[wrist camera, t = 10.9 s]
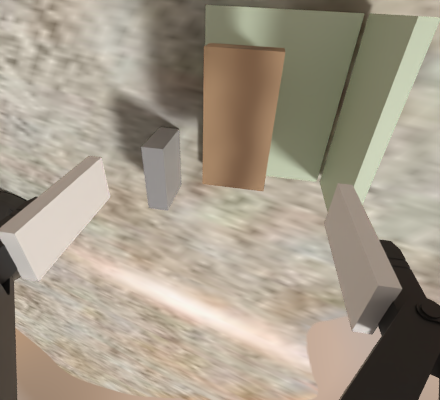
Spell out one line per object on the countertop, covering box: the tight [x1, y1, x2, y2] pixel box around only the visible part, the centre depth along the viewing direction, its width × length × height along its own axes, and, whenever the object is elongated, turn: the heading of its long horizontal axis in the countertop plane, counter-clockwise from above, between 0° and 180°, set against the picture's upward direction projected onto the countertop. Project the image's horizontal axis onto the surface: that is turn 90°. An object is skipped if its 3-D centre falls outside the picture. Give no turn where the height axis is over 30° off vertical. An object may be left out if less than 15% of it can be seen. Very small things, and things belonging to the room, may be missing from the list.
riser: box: [141, 127, 181, 210], centre depth 34 cm, size 2×8×6 cm, turn 177°
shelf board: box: [203, 43, 285, 191], centre depth 25 cm, size 6×12×2 cm, turn 177°
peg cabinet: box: [205, 5, 440, 211], centre depth 26 cm, size 16×17×11 cm
